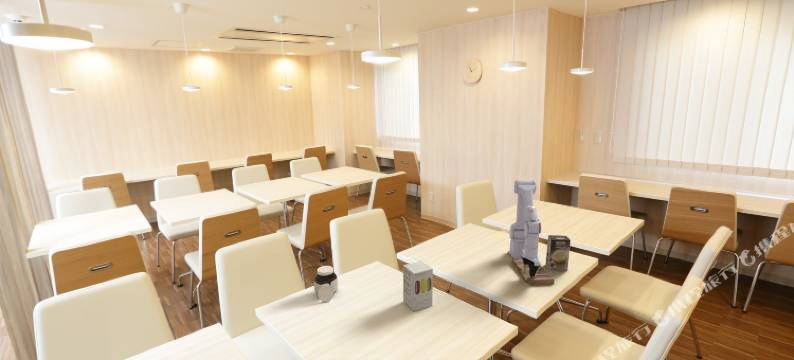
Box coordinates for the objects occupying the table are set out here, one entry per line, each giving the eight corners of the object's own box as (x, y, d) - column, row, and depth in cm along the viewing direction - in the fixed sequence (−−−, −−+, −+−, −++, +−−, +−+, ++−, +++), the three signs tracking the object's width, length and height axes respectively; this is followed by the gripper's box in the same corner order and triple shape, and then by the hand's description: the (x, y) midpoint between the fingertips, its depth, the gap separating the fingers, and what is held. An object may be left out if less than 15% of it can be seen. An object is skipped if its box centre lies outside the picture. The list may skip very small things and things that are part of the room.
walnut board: (511, 262, 196) (511, 258, 196) (531, 261, 197) (532, 257, 196) (530, 285, 173) (530, 280, 172) (553, 284, 173) (554, 278, 173)
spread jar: (331, 286, 176) (329, 262, 173) (345, 294, 168) (344, 270, 165) (308, 295, 168) (306, 271, 165) (322, 305, 160) (321, 280, 157)
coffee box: (548, 270, 187) (551, 239, 184) (545, 264, 193) (547, 234, 190) (568, 270, 186) (570, 239, 183) (563, 265, 192) (566, 235, 189)
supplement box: (413, 312, 153) (413, 273, 150) (402, 301, 161) (401, 264, 158) (433, 305, 158) (433, 268, 154) (421, 295, 166) (421, 260, 162)
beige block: (521, 275, 180) (522, 264, 178) (537, 274, 180) (538, 264, 179) (526, 280, 175) (526, 269, 174) (542, 279, 175) (543, 268, 174)
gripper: (516, 240, 181) (515, 267, 184) (529, 253, 167) (527, 281, 170) (531, 240, 181) (529, 266, 184) (545, 252, 167) (543, 280, 170)
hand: (529, 273), depth 177 cm, fingers closed on beige block, 5 cm apart
